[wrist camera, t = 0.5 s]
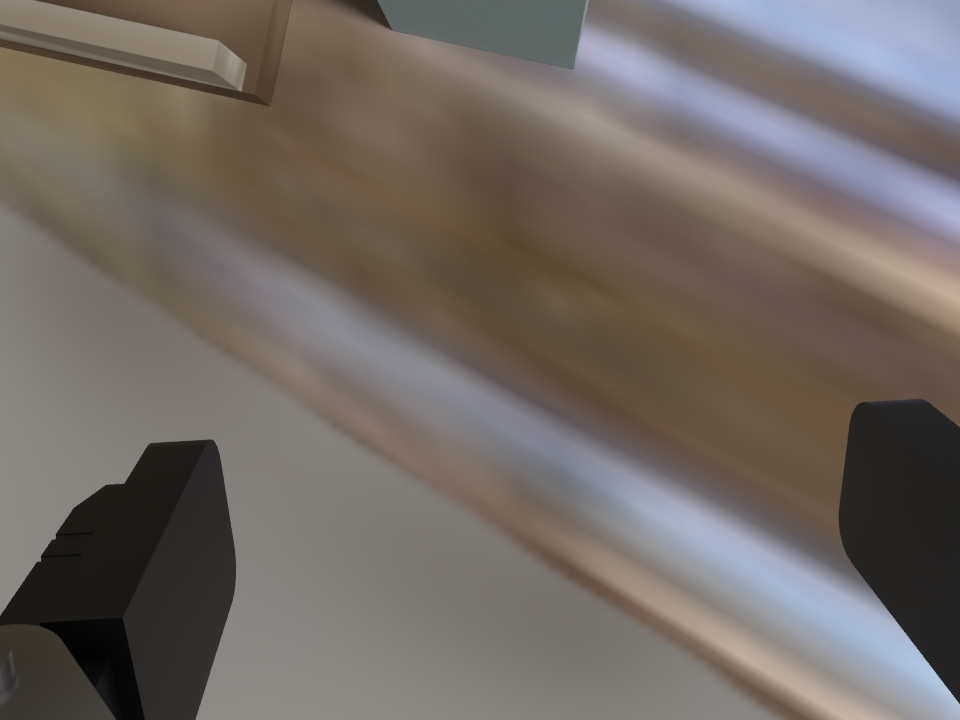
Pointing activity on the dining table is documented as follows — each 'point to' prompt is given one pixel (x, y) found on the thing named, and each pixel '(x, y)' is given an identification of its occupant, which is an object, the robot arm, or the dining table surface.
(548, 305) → the dining table surface
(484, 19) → the book
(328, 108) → the dining table surface
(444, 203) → the dining table surface
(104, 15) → the book rack
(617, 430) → the dining table surface
